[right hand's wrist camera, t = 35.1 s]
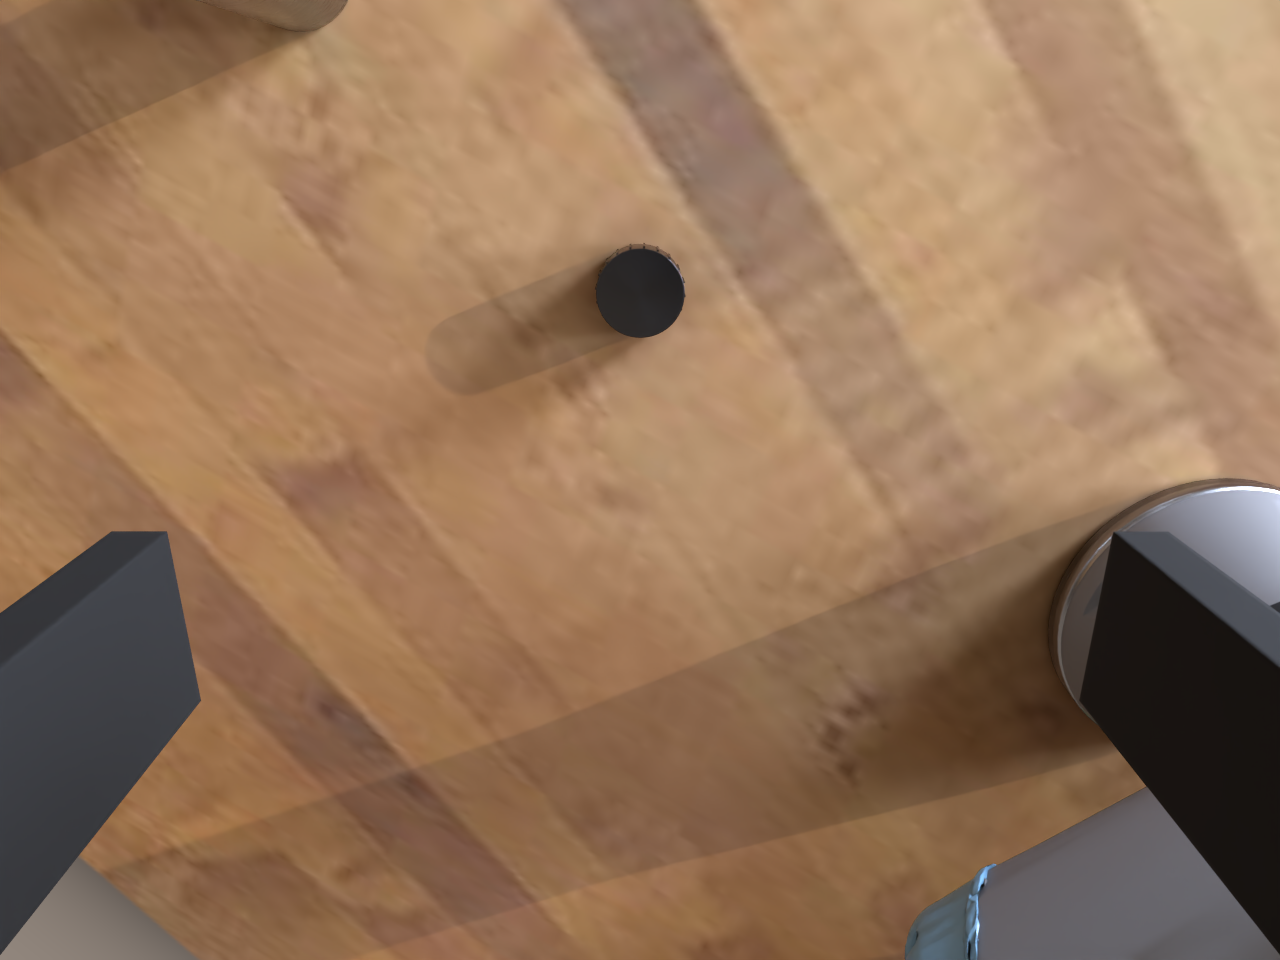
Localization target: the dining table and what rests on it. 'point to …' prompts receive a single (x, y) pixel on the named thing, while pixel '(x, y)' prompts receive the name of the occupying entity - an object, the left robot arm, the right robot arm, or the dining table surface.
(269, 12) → the bottle
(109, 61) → the dining table surface
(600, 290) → the cap
